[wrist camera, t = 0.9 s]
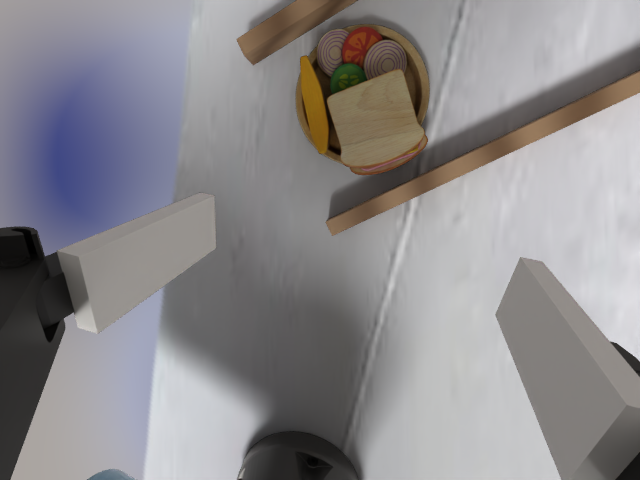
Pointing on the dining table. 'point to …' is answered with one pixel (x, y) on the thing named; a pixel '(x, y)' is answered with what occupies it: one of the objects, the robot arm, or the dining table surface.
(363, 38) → the toy sandwich meal
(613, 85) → the open-ended frame
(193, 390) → the dining table surface
